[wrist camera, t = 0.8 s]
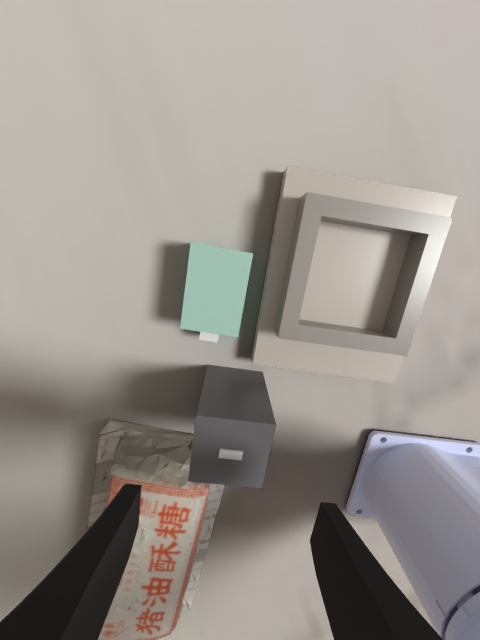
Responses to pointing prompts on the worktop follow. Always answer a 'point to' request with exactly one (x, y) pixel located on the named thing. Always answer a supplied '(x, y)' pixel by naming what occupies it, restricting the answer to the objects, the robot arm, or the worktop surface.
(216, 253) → the cable plug
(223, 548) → the worktop surface
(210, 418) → the block
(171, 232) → the worktop surface
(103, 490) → the packaged product
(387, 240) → the plate
